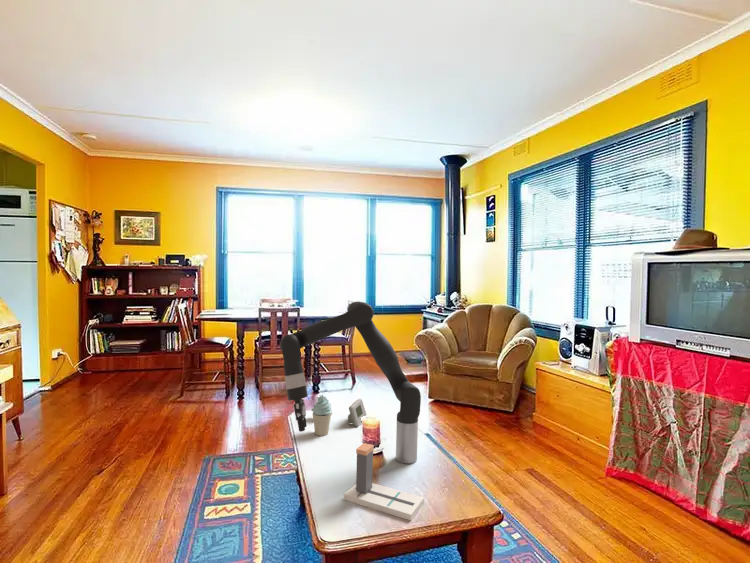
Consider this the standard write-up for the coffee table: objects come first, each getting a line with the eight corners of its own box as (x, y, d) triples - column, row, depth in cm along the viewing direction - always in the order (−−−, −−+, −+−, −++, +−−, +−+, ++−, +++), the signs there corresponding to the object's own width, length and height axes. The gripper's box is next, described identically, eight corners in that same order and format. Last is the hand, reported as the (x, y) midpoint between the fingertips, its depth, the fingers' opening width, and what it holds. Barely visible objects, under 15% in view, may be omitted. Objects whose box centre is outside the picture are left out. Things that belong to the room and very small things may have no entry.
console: (360, 484, 165) (360, 479, 165) (423, 503, 153) (424, 497, 153) (343, 499, 154) (344, 493, 154) (411, 520, 142) (411, 514, 142)
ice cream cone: (328, 428, 220) (329, 389, 220) (333, 436, 210) (334, 396, 209) (309, 430, 217) (309, 391, 216) (313, 438, 207) (313, 397, 206)
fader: (363, 483, 161) (364, 443, 160) (372, 486, 159) (373, 445, 158) (355, 491, 155) (356, 448, 155) (365, 494, 153) (366, 451, 153)
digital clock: (356, 428, 221) (357, 408, 221) (341, 425, 226) (342, 405, 225) (371, 418, 236) (372, 399, 235) (357, 415, 240) (358, 397, 239)
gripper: (304, 385, 159) (311, 430, 156) (307, 383, 173) (313, 424, 170) (284, 389, 158) (291, 434, 156) (288, 386, 172) (295, 428, 170)
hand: (303, 429), depth 163 cm, fingers open, 8 cm apart
